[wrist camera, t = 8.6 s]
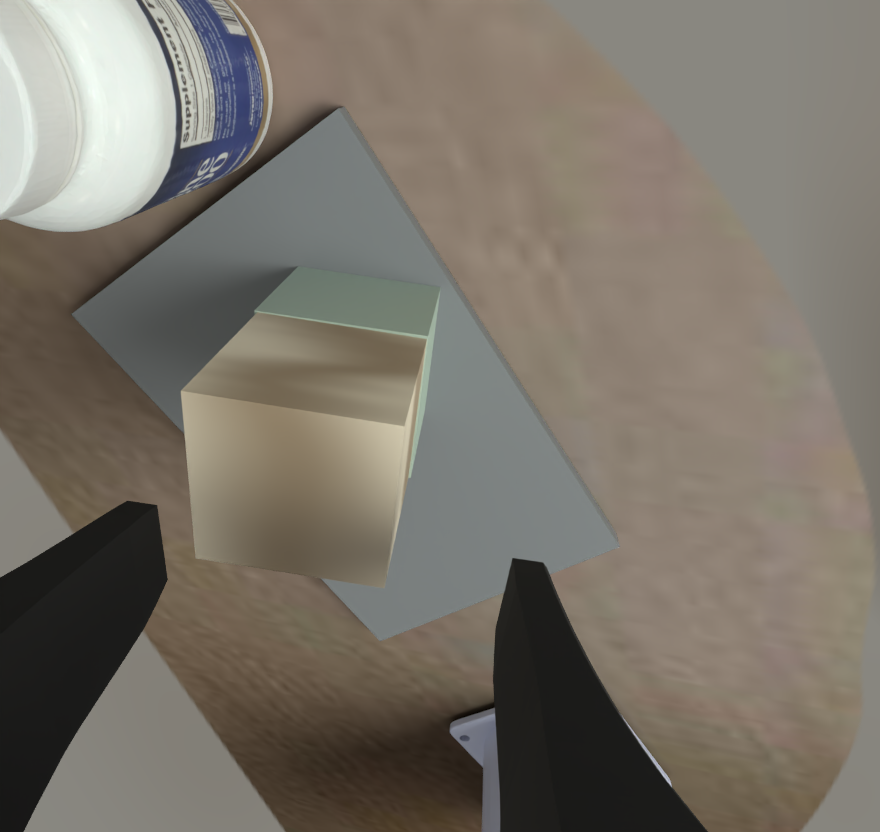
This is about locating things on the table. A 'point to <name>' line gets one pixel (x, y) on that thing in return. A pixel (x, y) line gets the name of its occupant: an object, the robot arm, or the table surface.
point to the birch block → (303, 447)
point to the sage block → (362, 311)
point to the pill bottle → (123, 105)
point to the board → (449, 388)
